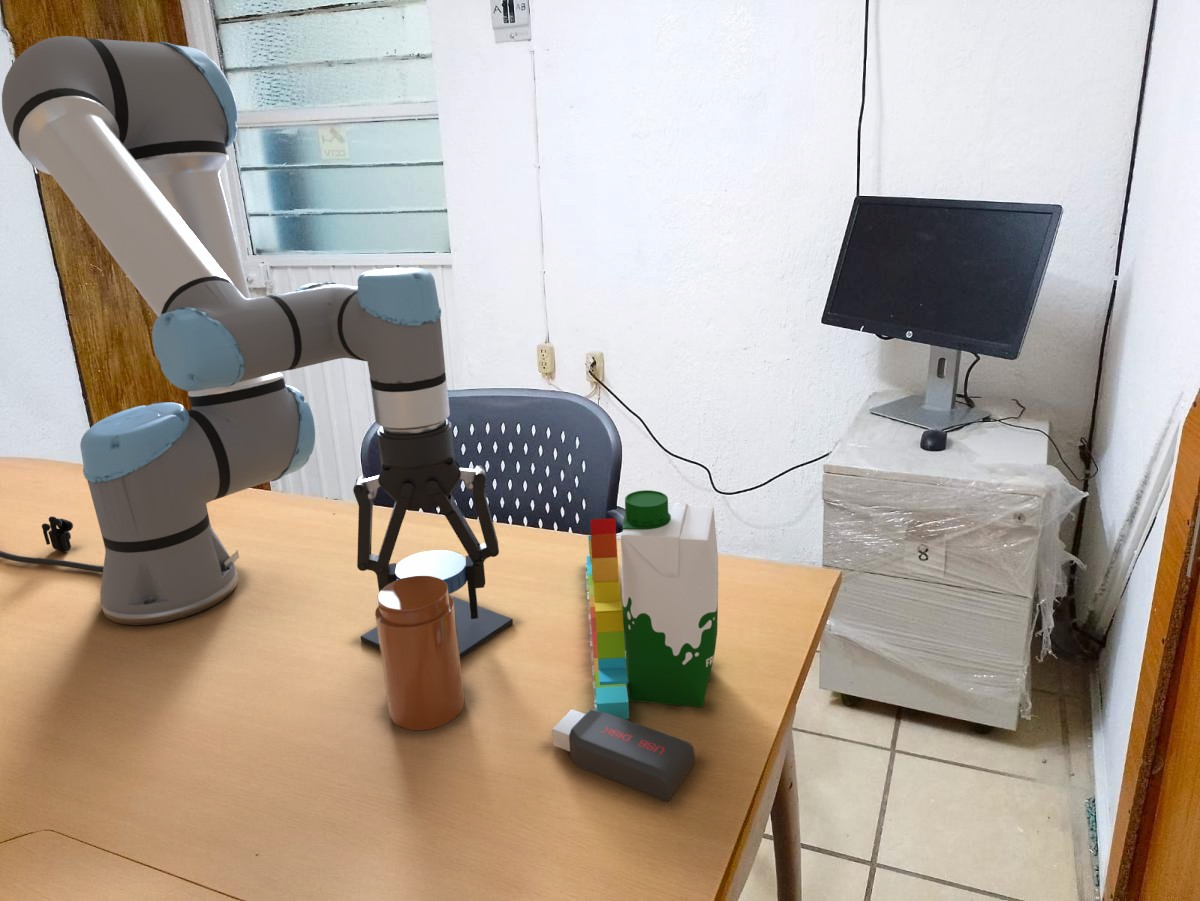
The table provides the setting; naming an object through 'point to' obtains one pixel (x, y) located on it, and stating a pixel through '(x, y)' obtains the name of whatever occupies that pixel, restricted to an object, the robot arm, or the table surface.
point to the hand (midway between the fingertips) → (436, 616)
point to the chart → (606, 621)
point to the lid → (435, 567)
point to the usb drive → (625, 751)
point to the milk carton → (668, 598)
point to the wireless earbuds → (58, 533)
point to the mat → (464, 627)
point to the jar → (419, 652)
